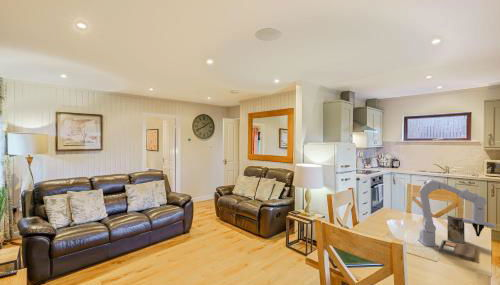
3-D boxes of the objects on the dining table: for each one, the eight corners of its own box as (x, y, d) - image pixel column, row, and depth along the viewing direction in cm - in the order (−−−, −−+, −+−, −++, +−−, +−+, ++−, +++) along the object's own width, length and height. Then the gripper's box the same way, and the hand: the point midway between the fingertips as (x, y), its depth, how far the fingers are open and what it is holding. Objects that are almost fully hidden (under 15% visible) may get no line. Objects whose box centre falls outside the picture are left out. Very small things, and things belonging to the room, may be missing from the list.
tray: (439, 251, 152) (439, 248, 152) (442, 242, 165) (442, 239, 165) (454, 255, 147) (454, 252, 147) (456, 246, 160) (456, 243, 160)
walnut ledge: (454, 256, 146) (454, 252, 146) (456, 245, 161) (456, 242, 161) (474, 261, 140) (474, 258, 140) (475, 249, 154) (475, 246, 154)
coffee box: (464, 240, 168) (465, 218, 167) (464, 243, 163) (464, 220, 163) (447, 237, 174) (448, 215, 174) (447, 240, 169) (447, 217, 169)
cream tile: (443, 250, 153) (443, 247, 152) (444, 248, 156) (444, 245, 156) (453, 253, 149) (453, 250, 149) (454, 250, 153) (454, 247, 153)
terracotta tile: (445, 246, 158) (445, 243, 158) (446, 244, 162) (446, 241, 162) (455, 248, 155) (455, 246, 155) (455, 246, 158) (456, 243, 158)
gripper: (462, 213, 153) (462, 234, 153) (495, 218, 143) (494, 241, 143) (463, 211, 158) (462, 231, 158) (494, 216, 148) (494, 237, 148)
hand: (477, 235), depth 151 cm, fingers closed
